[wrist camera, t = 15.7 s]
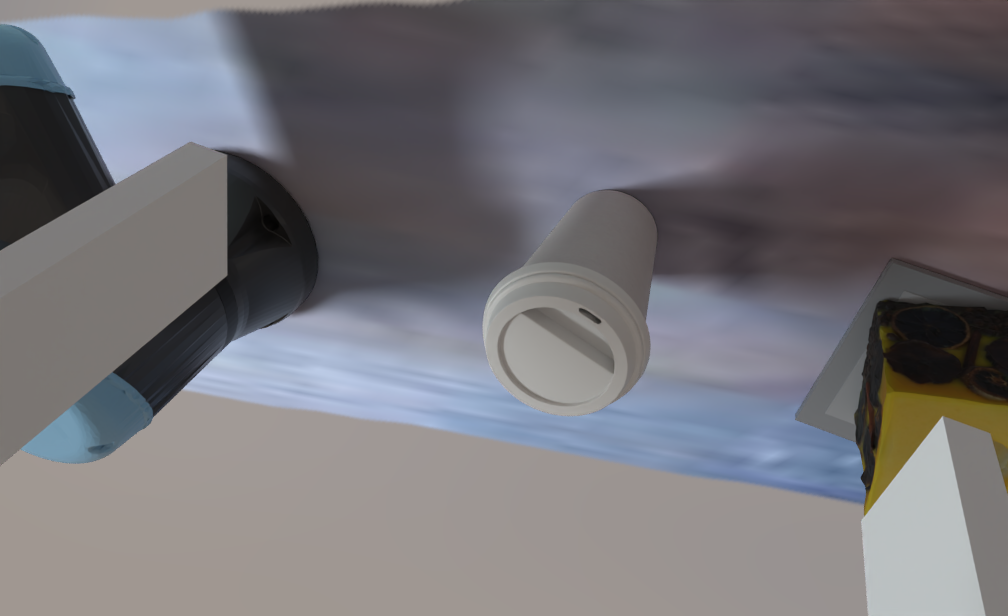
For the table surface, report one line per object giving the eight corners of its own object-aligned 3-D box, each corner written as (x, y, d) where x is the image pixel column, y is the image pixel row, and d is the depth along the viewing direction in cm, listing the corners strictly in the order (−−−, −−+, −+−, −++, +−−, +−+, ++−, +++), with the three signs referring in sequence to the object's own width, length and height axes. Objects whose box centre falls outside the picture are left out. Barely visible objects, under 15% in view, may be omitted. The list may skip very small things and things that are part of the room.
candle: (1017, 439, 52) (1055, 555, 44) (852, 420, 55) (859, 526, 47) (1058, 308, 47) (1110, 415, 39) (872, 296, 50) (885, 391, 42)
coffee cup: (708, 257, 53) (679, 394, 41) (593, 312, 58) (538, 447, 46) (629, 141, 50) (574, 251, 38) (517, 210, 55) (437, 325, 43)
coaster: (795, 414, 57) (795, 420, 57) (891, 257, 49) (892, 263, 48) (989, 486, 55) (990, 493, 55) (1123, 337, 47) (1126, 343, 47)
